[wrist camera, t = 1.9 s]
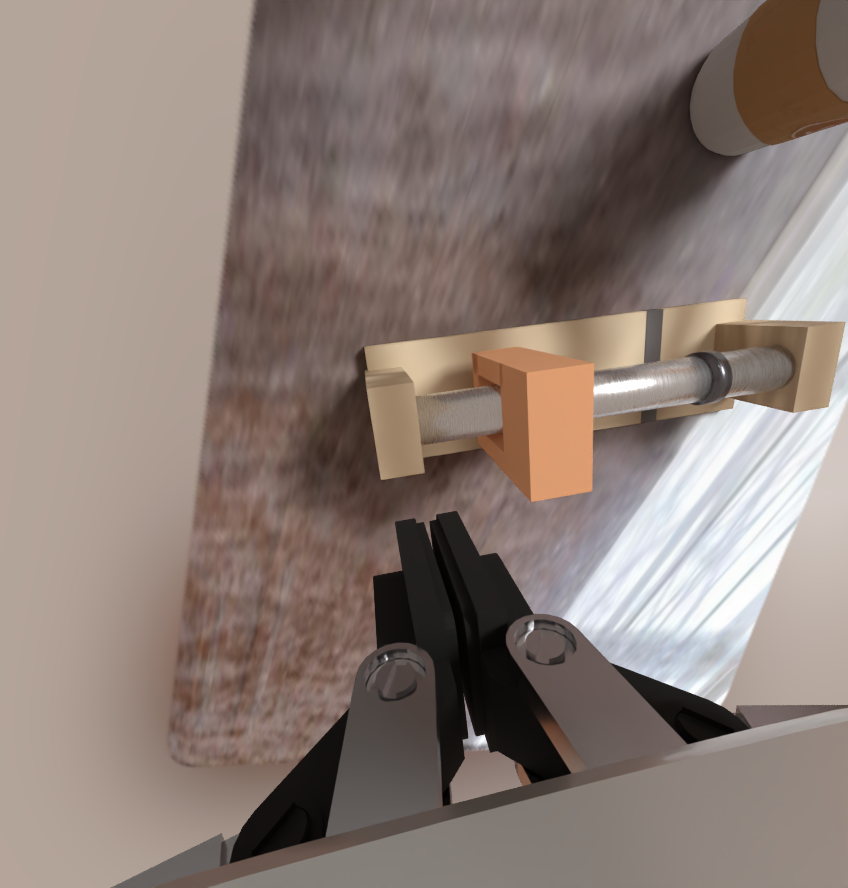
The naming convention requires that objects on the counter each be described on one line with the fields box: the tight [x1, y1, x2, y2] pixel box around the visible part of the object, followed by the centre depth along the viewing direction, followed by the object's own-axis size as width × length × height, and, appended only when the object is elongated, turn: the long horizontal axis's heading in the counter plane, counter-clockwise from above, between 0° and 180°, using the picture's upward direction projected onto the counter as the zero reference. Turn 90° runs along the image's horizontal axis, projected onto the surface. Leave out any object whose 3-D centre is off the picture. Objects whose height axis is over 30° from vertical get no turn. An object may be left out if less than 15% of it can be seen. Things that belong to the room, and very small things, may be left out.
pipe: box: [415, 345, 796, 445], centre depth 25 cm, size 25×3×3 cm, turn 97°
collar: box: [472, 347, 594, 502], centre depth 23 cm, size 3×6×9 cm, turn 7°
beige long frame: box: [364, 298, 845, 480], centre depth 26 cm, size 27×8×7 cm, turn 97°
